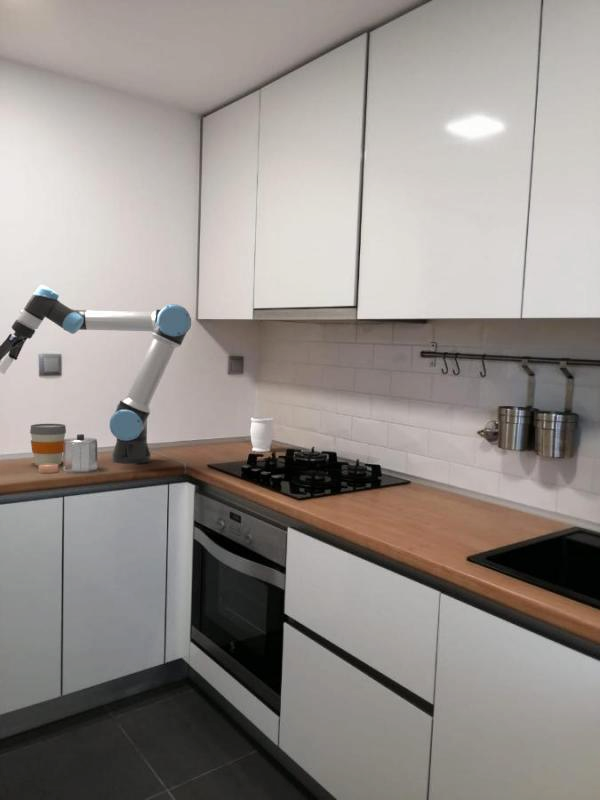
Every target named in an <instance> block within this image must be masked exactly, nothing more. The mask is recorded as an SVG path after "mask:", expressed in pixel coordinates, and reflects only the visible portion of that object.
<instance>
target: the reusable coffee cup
mask: <svg viewBox="0 0 600 800" xmlns="http://www.w3.org/2000/svg"><path fill="white" fill-rule="evenodd" d="M66 428H67V427H66V424H61V423H35V424H31V425H30V429H29V430H30V433H29V434H30V435H31V436H30V437H31V440H30V444H31V453H32V454H33V459H34V465H35V466H38V467H39V465H40V464H46V463H54V464H58V466H59V465H61V464H62V458H63V442H64V439H66V438H65V436H66V433H67V429H66Z"/></svg>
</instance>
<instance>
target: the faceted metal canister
mask: <svg viewBox="0 0 600 800" xmlns="http://www.w3.org/2000/svg"><path fill="white" fill-rule="evenodd" d="M97 440H98V439H97V438H92V437H85V434H76V437H70V438H64V442H63V452H62V458H63V464H62V465H63V466H62V467H63V469H62V470H63V471H65V472H66V471H68V472H88V473H90V472H89V471H94V470H96V469H98V441H97ZM68 472H67V473H68Z"/></svg>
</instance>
